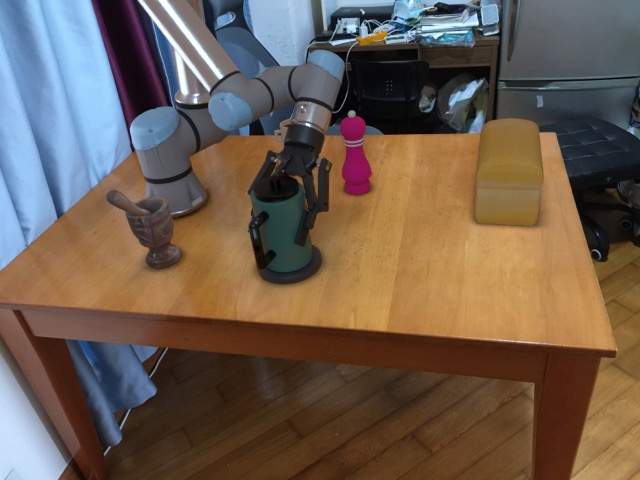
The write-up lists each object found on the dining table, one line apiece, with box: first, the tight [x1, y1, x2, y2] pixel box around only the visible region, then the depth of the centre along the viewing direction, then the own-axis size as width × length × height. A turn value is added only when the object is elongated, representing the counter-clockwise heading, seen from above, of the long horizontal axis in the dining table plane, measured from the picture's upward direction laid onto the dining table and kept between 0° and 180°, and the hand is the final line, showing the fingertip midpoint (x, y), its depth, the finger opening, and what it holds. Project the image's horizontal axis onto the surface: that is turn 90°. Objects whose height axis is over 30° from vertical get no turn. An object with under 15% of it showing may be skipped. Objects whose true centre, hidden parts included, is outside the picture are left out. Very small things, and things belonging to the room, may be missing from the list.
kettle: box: [247, 175, 313, 272], centre depth 104 cm, size 19×10×18 cm, turn 153°
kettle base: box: [256, 243, 322, 285], centre depth 110 cm, size 13×13×2 cm
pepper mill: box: [339, 110, 372, 196], centre depth 129 cm, size 7×7×20 cm
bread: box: [473, 117, 545, 227], centre depth 119 cm, size 24×13×15 cm, turn 164°
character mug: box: [273, 118, 291, 148], centre depth 144 cm, size 11×7×13 cm, turn 80°
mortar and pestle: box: [105, 189, 182, 270], centre depth 110 cm, size 12×9×20 cm
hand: (275, 239), depth 104 cm, fingers closed on kettle, 10 cm apart
